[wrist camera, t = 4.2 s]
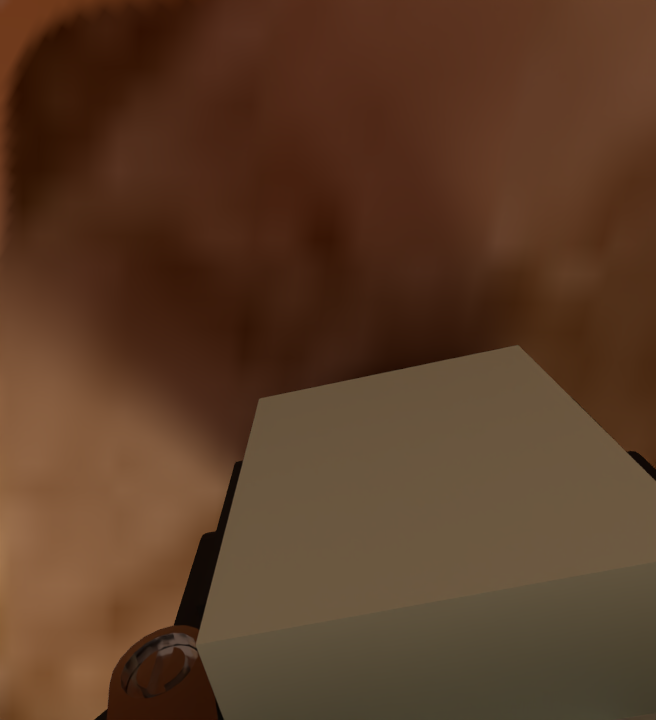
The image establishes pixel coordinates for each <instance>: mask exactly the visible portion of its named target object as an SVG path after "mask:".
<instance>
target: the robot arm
mask: <svg viewBox="0 0 656 720" xmlns="http://www.w3.org/2000/svg"><path fill="white" fill-rule="evenodd" d="M571 398H572V397H571ZM572 399H573V398H572ZM573 400H574V399H573ZM574 401H575V400H574ZM575 402H576V401H575ZM576 403H577V402H576ZM577 404H578V403H577ZM578 405H579V404H578ZM579 406H580V405H579ZM580 407H581V406H580ZM581 408H582V407H581ZM582 409H583V408H582ZM583 410H584V409H583ZM584 411H585V410H584ZM585 412H586V411H585ZM586 413H587V412H586ZM587 414H588V413H587ZM588 415H589V414H588ZM589 416H590V415H589ZM590 417H591V416H590ZM591 418H592V417H591ZM592 419H593V418H592ZM593 420H594V419H593ZM594 421H595V420H594ZM595 422H596V421H595ZM596 423H597V422H596ZM597 424H598V423H597ZM598 425H599V424H598ZM599 426H600V425H599ZM627 453H628V454H629V455H630V456H631V457H632V458H633V459H634V460H635V461H636V462H637V463H638V464H639V465H640V466H641V467H642V468H643V469H644V470H645V471H646V472H647V473H648V474H649V475H650V476H651V477H652V478H653V479H654V480H655V481H656V469H655V468H654V467H652V466H651V465H650V464H649V463H648V462H647V461H646V460H645V459H644V458H643V457H642V456H641V455H640V454H638V453H637V452H634V451H629V452H627ZM242 463H243V461H239V462H236V463H235V465H234V469H233V472H232V476H231V480H230V483H229V487H228V491H227V494H226V498H225V501H224V505H223V509H222V512H221V516H220V519H219V523H218V527H217V530H216V531H215V532H209V533H205V534H204V535H203V536H202V538H201V540H200V543H199V546H198V549H197V553H196V556H195V559H194V562H193V565H192V569H191V572H190V575H189V578H188V581H187V585H186V588H185V591H184V594H183V597H182V601H181V604H180V607H179V610H178V614H177V617H176V620H175V623H174V626H170V627H167V628H163V629H159V630H157V631H155V632H153V633H151V634H149V635H147V636H145V637H144V638H142V639H141V640H140V641H138V642H137V643H135V644H134V645H133V646H131V648H130V649H129V650H128V651H127V652H126V653H125V654H124V655H123V656H122V657H121V658H120V660H119V662H118V663H117V665H116V667H115V668H114V670H113V673H112V677H111V680H110V685H109V698H108V709H107V710H106V711H104V712H103V713H102V714H101V715H99V716H98V717H97V718H96V719H95V720H224V718H223V716H222V713H221V710H220V708H219V705H218V702H217V700H216V697H215V695H214V692H213V689H212V687H211V684H210V681H209V679H208V676H207V673H206V671H205V668H204V665H203V663H202V660H201V658H200V655H199V652H198V650H197V647H196V642H197V638H198V634H199V630H200V626H201V622H202V618H203V614H204V611H205V607H206V603H207V599H208V595H209V591H210V587H211V583H212V580H213V576H214V572H215V568H216V564H217V560H218V556H219V552H220V549H221V545H222V541H223V537H224V533H225V529H226V525H227V521H228V518H229V514H230V510H231V506H232V502H233V498H234V494H235V490H236V487H237V483H238V479H239V475H240V471H241V467H242ZM616 720H656V713H654V714H647V715H641V716H635V717H628V718H622V719H616Z"/></svg>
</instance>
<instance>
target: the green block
mask: <svg viewBox="0 0 656 720" xmlns="http://www.w3.org/2000/svg"><path fill="white" fill-rule="evenodd" d="M196 647H197V650H198V652H199V655H200V658H201V660H202V663H203V665H204V668H205V671H206V673H207V676H208V679H209V681H210V684H211V687H212V689H213V692H214V695H215V697H216V700H217V702H218V705H219V708H220V710H221V713H222V716H223V718H224V720H616V719H622V718H628V717H635V716H641V715H647V714H654V713H656V481H655V480H654V479H653V478H652V477H651V476H650V475H649V474H648V473H647V472H646V471H645V470H644V469H643V468H642V467H641V466H640V465H639V464H638V463H637V462H636V461H635V460H634V459H633V458H632V457H631V456H630V455H629V454H628V453H627V452H626V451H625V450H624V449H623V448H622V447H621V446H620V445H619V444H618V443H617V442H616V441H615V440H614V439H613V438H612V437H611V436H610V435H609V434H608V433H607V432H606V431H605V430H604V429H603V428H602V427H601V426H599V425H598V424H597V423H596V422H595V421H594V420H593V419H592V418H591V417H590V416H589V415H588V414H587V413H586V412H585V411H584V410H583V409H582V408H581V407H580V406H579V405H578V404H577V403H576V402H575V401H574V400H573V399H572V398H571V397H570V396H569V395H568V394H567V393H566V392H565V391H564V390H563V389H562V388H561V387H560V386H559V385H558V384H557V383H556V382H555V381H554V380H553V379H552V378H551V377H550V376H549V375H548V374H547V373H546V372H545V371H544V370H543V369H542V368H541V367H540V366H539V365H538V364H537V363H536V362H535V361H534V360H533V359H532V358H531V357H530V356H529V355H528V354H527V353H526V352H525V351H524V350H523V349H522V348H521V347H520V346H519V345H516V346H511V347H506V348H501V349H496V350H492V351H487V352H482V353H477V354H472V355H467V356H463V357H458V358H453V359H448V360H443V361H438V362H434V363H429V364H424V365H419V366H414V367H409V368H405V369H400V370H395V371H390V372H385V373H380V374H376V375H371V376H366V377H361V378H356V379H351V380H347V381H342V382H337V383H332V384H327V385H322V386H318V387H313V388H308V389H303V390H298V391H294V392H289V393H284V394H279V395H274V396H269V397H265V398H260V399H259V401H258V405H257V409H256V413H255V417H254V421H253V424H252V428H251V432H250V436H249V440H248V444H247V448H246V452H245V456H244V459H243V463H242V467H241V471H240V475H239V479H238V483H237V487H236V490H235V494H234V498H233V502H232V506H231V510H230V514H229V518H228V521H227V525H226V529H225V533H224V537H223V541H222V545H221V549H220V552H219V556H218V560H217V564H216V568H215V572H214V576H213V580H212V583H211V587H210V591H209V595H208V599H207V603H206V607H205V611H204V614H203V618H202V622H201V626H200V630H199V634H198V638H197V642H196Z"/></svg>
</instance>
